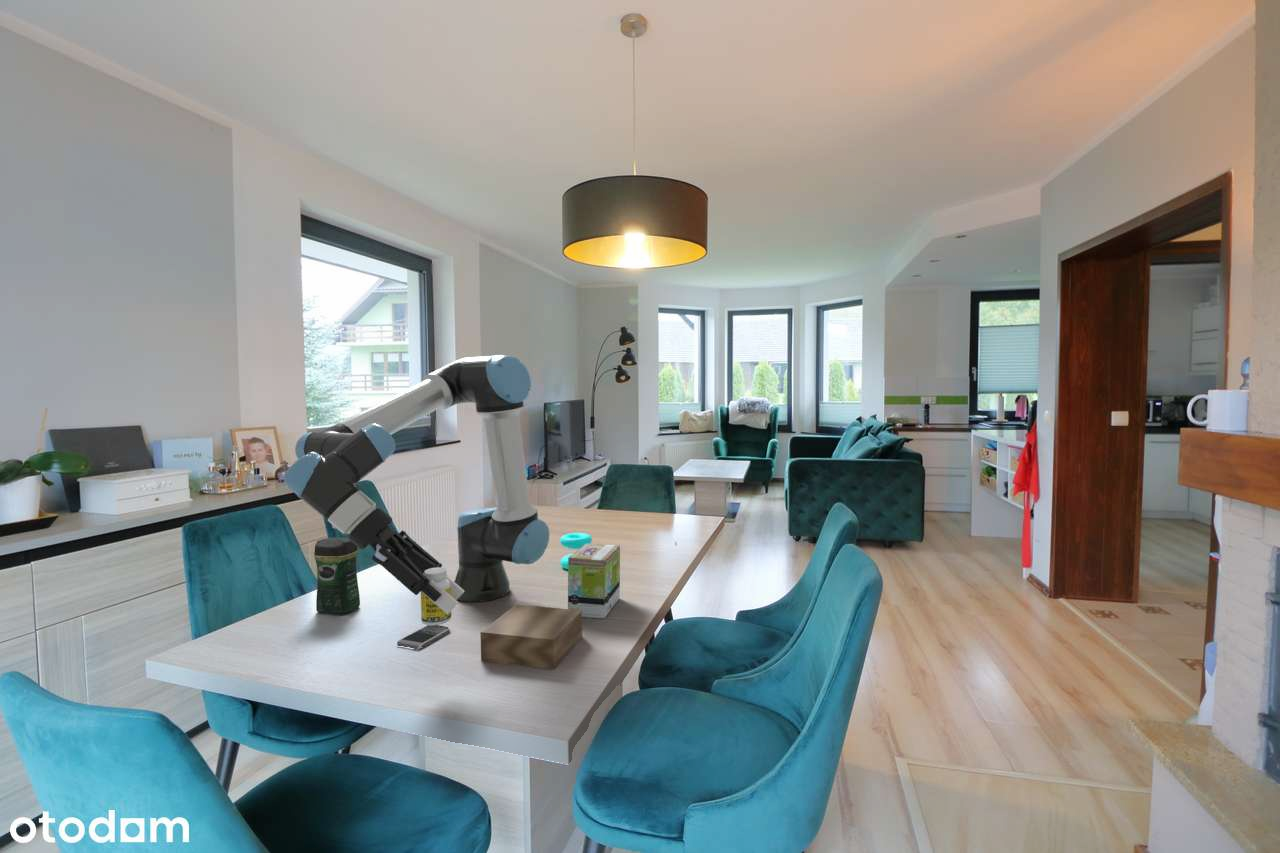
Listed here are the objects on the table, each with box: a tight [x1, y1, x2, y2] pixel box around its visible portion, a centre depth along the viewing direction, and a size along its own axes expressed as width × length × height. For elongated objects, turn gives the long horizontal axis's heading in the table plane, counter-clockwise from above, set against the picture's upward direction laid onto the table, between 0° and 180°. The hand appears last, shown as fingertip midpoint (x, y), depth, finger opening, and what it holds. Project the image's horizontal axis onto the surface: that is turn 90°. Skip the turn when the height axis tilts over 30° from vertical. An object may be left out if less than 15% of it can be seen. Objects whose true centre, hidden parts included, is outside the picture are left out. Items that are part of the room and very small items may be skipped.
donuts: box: [560, 532, 593, 570], centre depth 181 cm, size 10×10×10 cm
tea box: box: [567, 543, 621, 619], centre depth 146 cm, size 15×10×15 cm
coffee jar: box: [313, 537, 361, 616], centre depth 145 cm, size 10×8×19 cm
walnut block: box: [480, 603, 583, 670], centre depth 122 cm, size 16×16×6 cm
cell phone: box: [396, 624, 451, 650], centre depth 128 cm, size 6×11×1 cm, turn 159°
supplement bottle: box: [420, 566, 452, 626], centre depth 108 cm, size 5×5×10 cm
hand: (456, 602), depth 109 cm, fingers closed on supplement bottle, 5 cm apart
